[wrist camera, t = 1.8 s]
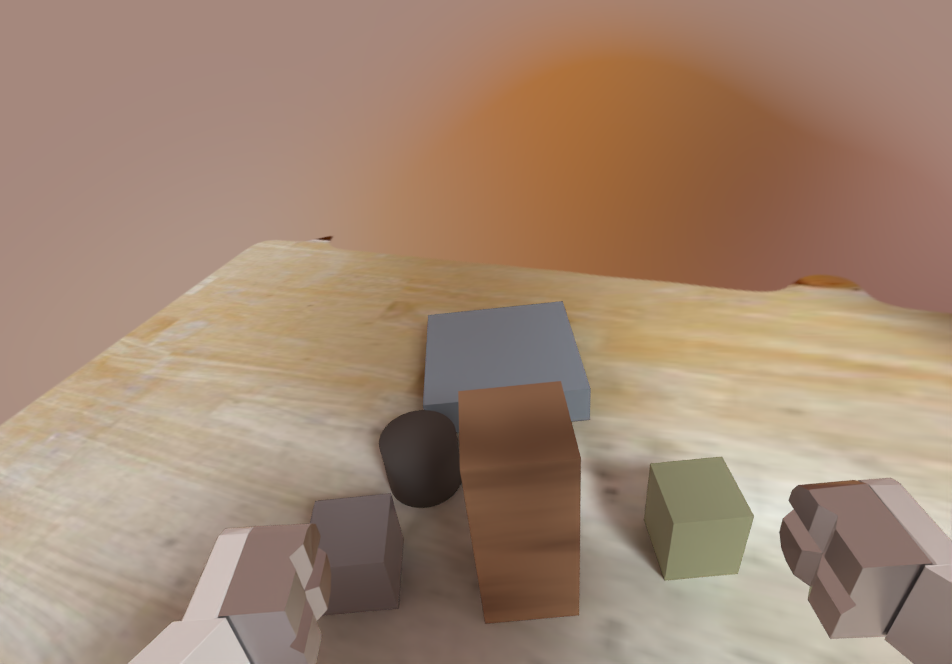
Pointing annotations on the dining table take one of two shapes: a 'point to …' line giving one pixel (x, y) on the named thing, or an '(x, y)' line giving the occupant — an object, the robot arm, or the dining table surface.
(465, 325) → the slate riser
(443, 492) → the charcoal cylinder
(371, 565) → the mauve grey cube
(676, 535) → the olive block
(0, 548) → the dining table surface
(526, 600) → the walnut block
